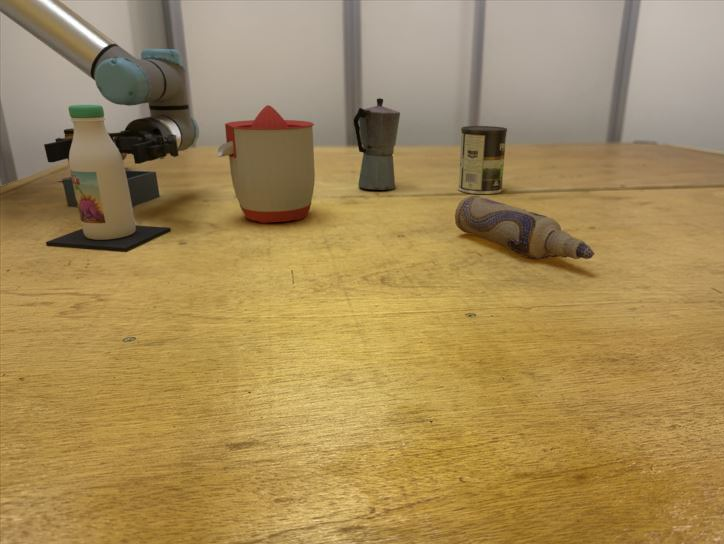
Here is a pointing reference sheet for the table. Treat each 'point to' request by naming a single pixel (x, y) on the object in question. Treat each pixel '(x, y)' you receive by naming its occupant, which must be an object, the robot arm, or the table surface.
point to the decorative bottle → (518, 229)
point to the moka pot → (377, 145)
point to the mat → (118, 244)
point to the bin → (139, 185)
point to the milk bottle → (99, 177)
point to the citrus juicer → (271, 166)
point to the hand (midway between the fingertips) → (91, 154)
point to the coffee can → (482, 159)
